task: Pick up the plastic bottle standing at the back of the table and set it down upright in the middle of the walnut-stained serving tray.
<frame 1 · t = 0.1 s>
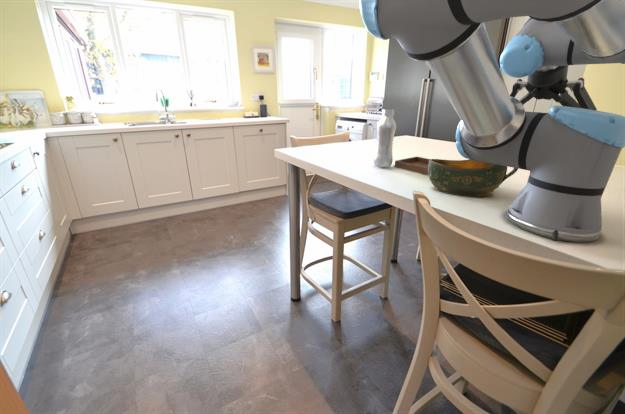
hand: (541, 134, 80), 15 cm above the table, tool tilted 35°, fingers open, 13 cm apart
tray: (431, 170, 101), on the table
green patterned bowl: (465, 192, 79), on the table
plastic bottle: (382, 167, 104), on the table
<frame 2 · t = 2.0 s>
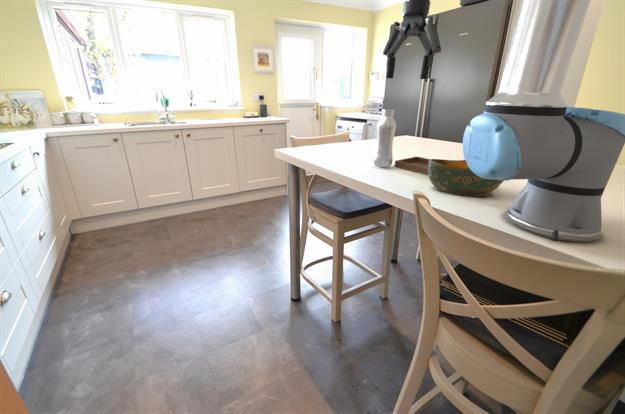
hand: (405, 78, 93), 30 cm above the table, tool pointing down, fingers open, 13 cm apart
nothing on the table moved.
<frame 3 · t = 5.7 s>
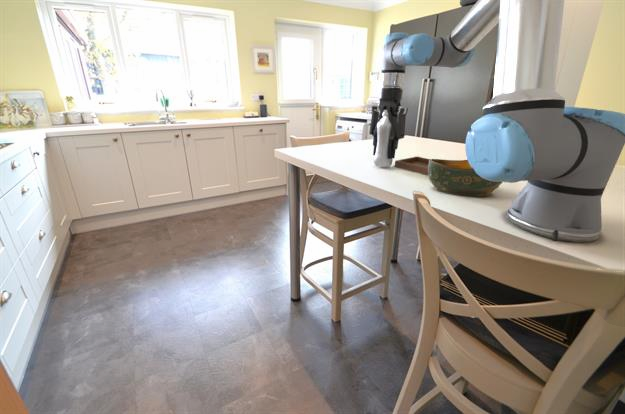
hand: (383, 156, 103), 4 cm above the table, tool pointing down, fingers closed on plastic bottle, 6 cm apart
plastic bottle: (382, 167, 104), on the table, touching gripper
everything else where it was.
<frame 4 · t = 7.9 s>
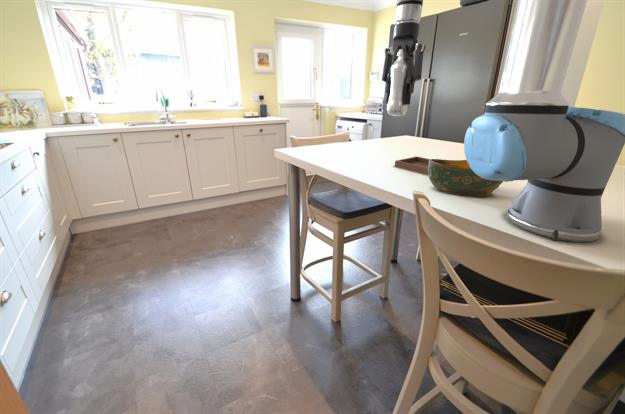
hand: (397, 104, 95), 22 cm above the table, tool pointing down, fingers closed on plastic bottle, 6 cm apart
plastic bottle: (395, 116, 97), point 18 cm above the table, touching gripper
everything else where it was.
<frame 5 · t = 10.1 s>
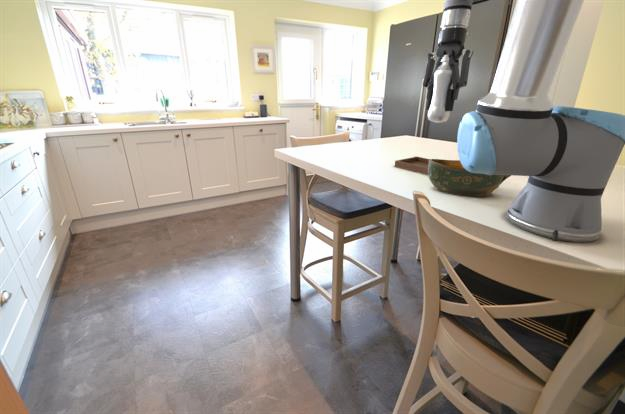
hand: (439, 110, 93), 20 cm above the table, tool pointing down, fingers closed on plastic bottle, 6 cm apart
plastic bottle: (436, 123, 95), point 16 cm above the table, touching gripper
everything else where it was.
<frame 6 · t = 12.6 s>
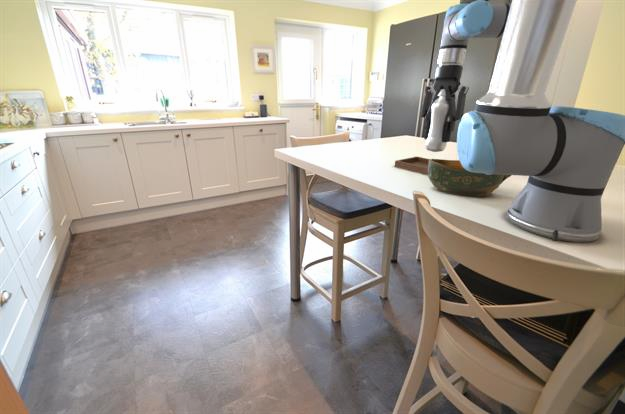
hand: (436, 140, 97), 11 cm above the table, tool pointing down, fingers closed on plastic bottle, 6 cm apart
plastic bottle: (434, 152, 99), point 6 cm above the table, touching gripper
everything else where it was.
when the fingers open (5 cm above the table, at t = 14.6 s): plastic bottle stays where it is, resting on tray.
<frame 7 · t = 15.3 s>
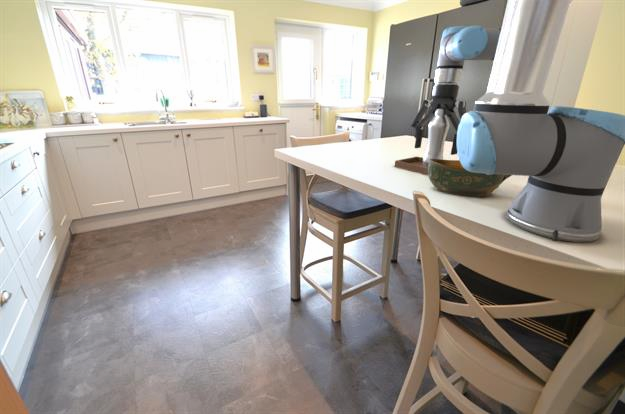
hand: (434, 151, 98), 7 cm above the table, tool pointing down, fingers open, 13 cm apart
plastic bottle: (431, 168, 101), point 1 cm above the table, touching tray
everything else where it was.
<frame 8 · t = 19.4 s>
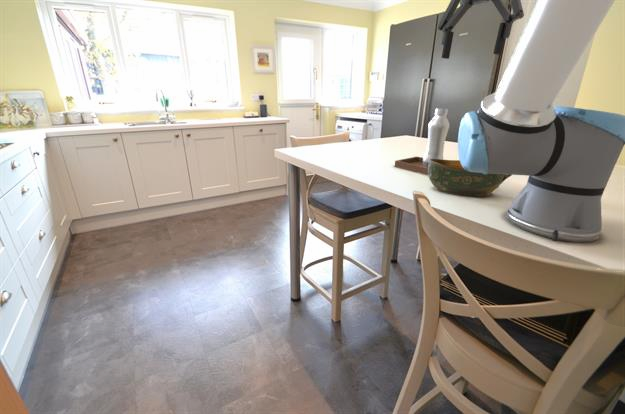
hand: (469, 56, 75), 35 cm above the table, tool pointing down, fingers open, 13 cm apart
nothing on the table moved.
at the end: plastic bottle inside the target area in the tray (0.1 cm from its centre), point 0.6 cm above the tray's base; plastic bottle tilted 0°; the gripper is holding nothing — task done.
